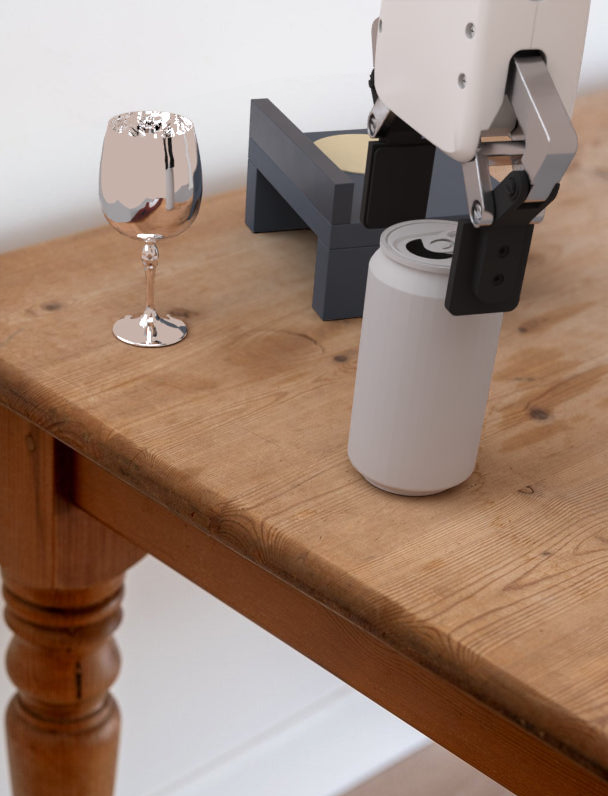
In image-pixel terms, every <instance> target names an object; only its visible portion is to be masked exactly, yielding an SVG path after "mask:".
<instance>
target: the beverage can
mask: <svg viewBox="0 0 608 796" xmlns="http://www.w3.org/2000/svg"><path fill="white" fill-rule="evenodd" d="M457 225H458V222H455V221H448V220H434V219H424V220H412V221H406V222H401V223H398V224H395V225H392V226H390V227H389V228H387V229H386V230H384V232H383V233H382V234H381V237H380V248H379V249H378V250H377V251H376V252H375V253H374V255H373V256H372V257H371V259H370V261H369V268H368V277H367V285H366V294H365V302H364V311H363V317H362V320H361V328H360V337H359V347H358V354H357V363H356V372H355V381H354V389H353V397H352V407H351V416H350V424H349V432H348V441H347V456H348V457H347V458H348V459H349V461H350V463H351V465H352V466H353V468H354V469H355V470H356V471H357V472H358V473H359V474H361V475H362V476H363V478H364V479H365V480H366V481H367V482H368V483H370V484H371V485H373V486H374V487H375V488H378V489H380V490H383V491H385V492H389V493H391V494H395V495H400V496H407V497H408V496H409V497H410V496H411V497H421V496H431V495H435V494H439V493H442V492H444V491H445V492H446V490H449V489H452V488H454V487H457V486H458V485H460V484H462V483H463V482H465V481H466V480H468V479H469V478H470V476H471V475H472V474H473V472H474V470H475V468H476V464H477V459H478V454H479V453H478V452H479V448H480V442H481V436H482V432H483V427H484V422H485V417H486V416H485V415H486V411H487V406H488V400H489V394H490V389H491V385H492V380H493V379H492V378H493V373H494V369H495V368H494V367H495V363H496V362H495V361H496V357H497V352H498V346H499V341H500V335H501V330H502V325H503V321H504V320H503V319H504V314H505V312H499V313H487V314H475V315H463V316H453V315H452V314H451V313H450V312H449V311H448V310H447V309H446V308H445V306H444V303H445V297H446V291H447V285H448V279H449V273H450V267H451V261H452V255H453V249H454V243H455V237H456V231H457Z"/></svg>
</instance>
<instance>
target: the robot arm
mask: <svg viewBox="0 0 608 796" xmlns="http://www.w3.org/2000/svg"><path fill="white" fill-rule="evenodd" d="M591 3H592V0H381V2H380V11H379V15H378V17H376V18H375V19H374V20H373V22H372V24H371V29H370V30H371V50H372V66H373V68H372V70H371V72H370V74H369V79H368V88H370V93H371V98H372V103H373V105H372V108H371V109H370V111H369V113H368V115H367V120H366V121H367V122H366V129H367V130H368V134H369V137H370V138H371V139H376V138H379V141H369V143H368V151H367V159H366V168H365V176H364V185H363V193H362V201H361V210H360V222H361V223H362V224H363V225H364V226H365V227H366V228H367V229H378V228H389V227H390V226H392V225H395V224H398V223H401V222H406V221H412V220H424V219H425V218H426V211H427V205H428V198H429V191H430V185H431V178H432V171H433V165H434V158H435V152H436V147H437V148H439V149H440V150H441V151H442V152H444V153H445V154H447V155H448V156H449V157H451V158H452V159H454V160H456V161H459V162H461V163H462V170H463V176H464V183H465V190H466V196H467V203H468V210H469V216H470V218H468V219H458V225H457V231H456V237H455V243H454V249H453V255H452V261H451V267H450V273H449V279H448V285H447V291H446V297H445V303H444V306H445V308H446V309H447V310H448V311H449V312H450V313H451V314H452V315H453V316H463V315H475V314H487V313H499V312H504V313H509V312H513V311H514V310H515V309H516V308H517V307H518V305H519V303H520V298H521V294H522V288H523V284H524V279H525V273H526V268H527V264H528V259H529V255H530V250H531V245H532V240H533V235H534V229H535V225H539V224H541V223H542V222H543V221H544V218H545V214H546V209H547V207H548V206H549V205H550V204H552V202H553V201H555V199H556V198H557V196H558V194H559V191H560V188H561V183H560V182H561V181H562V179H563V177H564V175H565V174H566V173H567V170H568V168H569V166H570V165H571V163H572V161H573V159H574V158H575V156H576V154H577V151H578V148H579V138H578V134H577V132H576V130H575V127H574V125H573V122H572V120H573V115H574V110H575V105H576V99H577V93H578V88H579V83H580V76H581V70H582V64H583V59H584V52H585V45H586V38H587V31H588V25H589V17H590V10H591ZM422 136H423V137H425V139H422ZM493 137H494V138H495V137H496V138H497V137H508V138H509V139H511V140H496V141H495V140H494V141H482V138H493ZM503 166H504V167H505V166H511V168H512V170H511V171H510V172H509V173H508V174H507V175H506V176H505V177H504V178H503V179H502V180H501V181H499V182H500V183H499V184H498V185H497V186H496V188H495V189H494V190H493V191H492V185H491V178H490V175H491V173H490V167H503Z"/></svg>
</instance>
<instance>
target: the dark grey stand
mask: <svg viewBox="0 0 608 796" xmlns="http://www.w3.org/2000/svg"><path fill="white" fill-rule="evenodd" d="M249 105H250V107H249V124H248V125H249V129H248V150H247V168H246V169H247V171H246V188H245V189H246V190H245V208H244V209H245V211H244V223H245V225H246V226H247V227H248V228H249V230H250V231H251V232H252V233H253V234H255V233H267V232H277V231H278V232H280V231H291V230H305V229H310V230H311V231H312V232H313V233H314V234H315V236H317V243H316V255H315V267H314V278H313V291H312V300H311V301H312V302H311V308H312V309H313V310H314V312H315V313H316V314H317V315H318V317H319V318H320V319H321V320H322V321H332V320H342V319H352V318H363V311H364V302H365V294H366V285H367V277H368V268H369V261H370V259H371V257H372V256H373V255H374V253H375V252H376V251H377V250H378V249H379V248H380V237H381V234H382V233H383V232H384V230H386V229H387V228H378V229H367V228H366V227H365V226H364V225H363V224H362V223H361V222H360V210H361V201H362V193H363V185H364V176H365V168H366V159H367V151H368V143H369V141H379V138H376V139H371V138H370V137H369V134H368V130H367V128H356V129H355V128H354V129H340V130H339V129H337V130H323V131H306V132H303V131H302V130H301V129H300V128H299V127H298V126H297V125H296V124H295V123H294V122H293V121H292V120H291V119H290V118H288V116H286V114H285V113H284V112H283V111H281V110H280V109H279V108H278V106H276V105H275V104H274V103H273V102H272V101H271V100H270V98H267V97H266V98H265V97H263V98H262V97H261V98H251V99H250V104H249ZM422 139H425V137H423V136H422ZM490 178H491V185H492V191H493V190H494V189H495V188H496V186H497V185H498V184H499V183H500V182H501V181H499V180H498V179H497V178H495V177H494V176H493V175H491V174H490ZM468 218H470V216H469V210H468V203H467V196H466V190H465V183H464V176H463V170H462V163H461V162H459V161H456V160H454V159H452V158H451V157H449V156H448V155H447V154H445V153H444V152H442V151H441V150H440V149H439V148H437V147H436V152H435V158H434V165H433V171H432V178H431V185H430V191H429V198H428V205H427V211H426V218H425V219H434V220H448V221H455V222H458V219H468Z"/></svg>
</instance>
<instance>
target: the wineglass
mask: <svg viewBox="0 0 608 796" xmlns="http://www.w3.org/2000/svg"><path fill="white" fill-rule="evenodd" d="M199 146H200V145H199V140H198V136H197V133H196V130H195V125H194V122H193V121H192V120H191V119H190V118H189V117H186V116H183V115H180V114H177V113H173V112H167V111H161V110H136V111H129V112H123V113H120V114H118V115H115V116H112V117H111V118H110V119H109V120H108V121H107V124H106V128H105V133H104V137H103V142H102V146H101V152H100V157H99V158H100V159H99V165H98V175H97V176H98V179H97V182H98V183H97V186H98V189H97V190H98V198H99V203H100V208H101V211H102V214H103V217H105V219H106V221H107V222H108V224H109V225H110V226H111V227H112V228H113V230H115V231H117V232H118V233H119V234H121V235H122V236H124V237H127V238H129V239H132V240H135V241H139V242H144V243H145V244H144V245H143V247H142V250H141V257H140V258H141V262H142V267H143V270H144V275H145V284H146V285H145V286H146V289H145V291H146V292H145V307H144V310H143V312H141V311H140V312H135V313H131V314H127V315H125V316H122V317H120V318H119V319H117V320H116V321H114V323H113V324H112V328H111V331H112V334H113V335H114V337H115V338H117V339H118V340H119V341H121V342H122V343H125V344H128V345H131V346H136V347H143V348H158V347H166V346H170V345H173V344H176V343H178V342H180V341H182V340H183V339H185V337H186V336H187V334H188V326H187V325H186V323H185V322H184V321H183V320H182V319H180V318H178V317H177V316H174V315H171V314H168V313H163V312H157V310H156V306H155V278H156V273H157V267H158V265H159V260H160V253H159V249H158V246H157V245H156V243H158V242H164V241H169V240H171V239H173V238H175V237H178V236H180V235H182V234H183V233H185V232H186V231H187V230H188V229H190V227H191V226H192V225H193V224H194V222H195V221H196V219H197V217H198V215H199V213H200V209H201V205H202V199H203V192H204V191H203V190H204V175H203V174H204V173H203V166H202V165H203V164H202V159H201V153H200V147H199Z"/></svg>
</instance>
